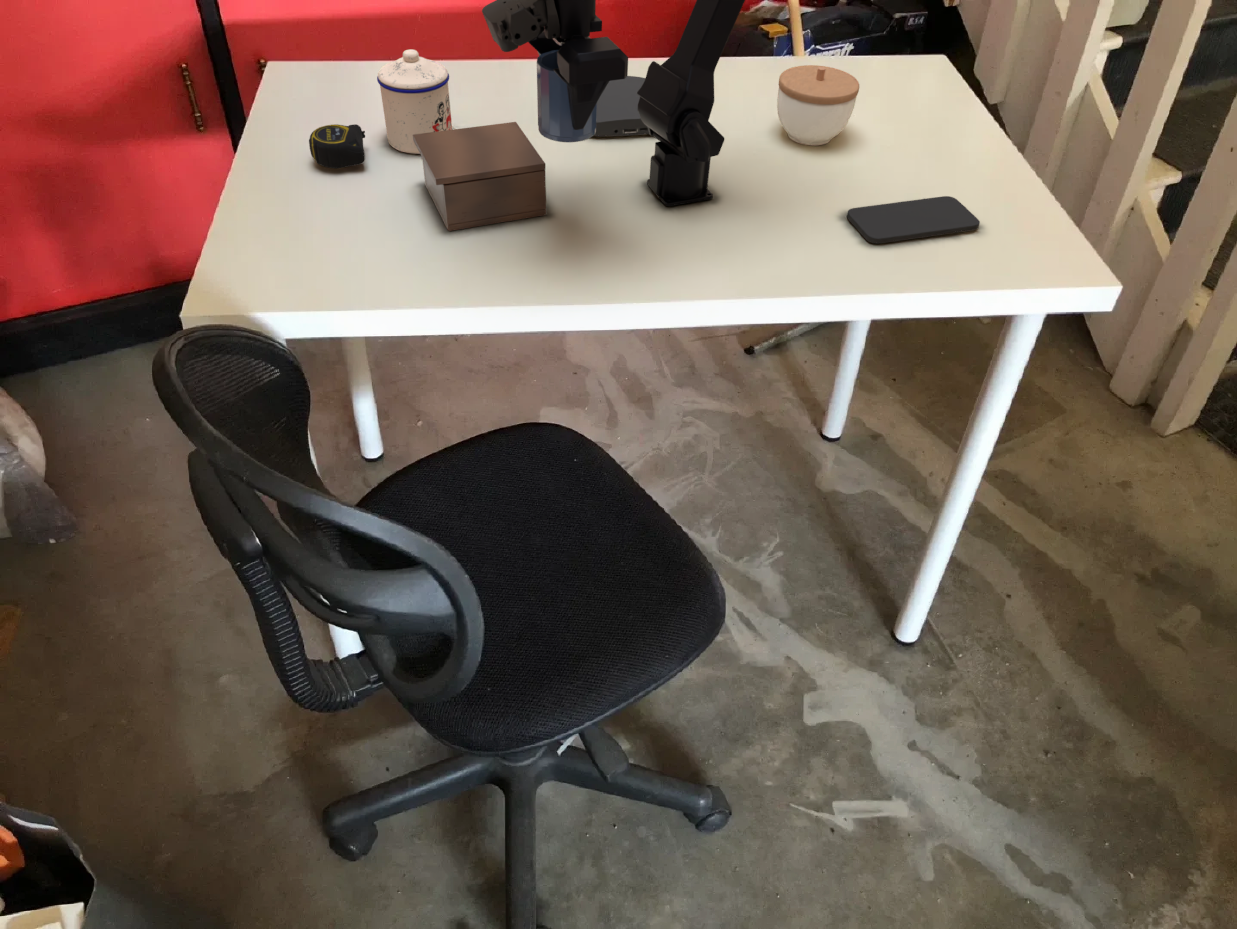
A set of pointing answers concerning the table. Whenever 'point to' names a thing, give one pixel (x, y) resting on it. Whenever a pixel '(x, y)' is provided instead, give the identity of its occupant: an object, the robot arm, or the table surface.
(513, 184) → the box
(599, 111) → the media streaming box
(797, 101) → the trinket box
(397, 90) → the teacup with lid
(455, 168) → the box lid
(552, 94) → the cup
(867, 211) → the phone
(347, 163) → the tape measure
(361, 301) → the table surface
